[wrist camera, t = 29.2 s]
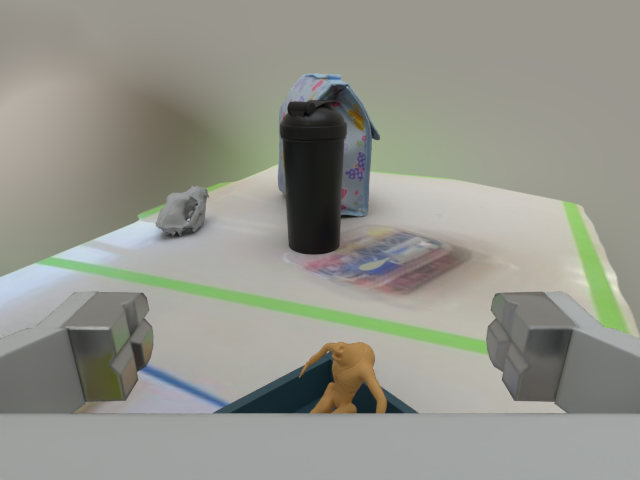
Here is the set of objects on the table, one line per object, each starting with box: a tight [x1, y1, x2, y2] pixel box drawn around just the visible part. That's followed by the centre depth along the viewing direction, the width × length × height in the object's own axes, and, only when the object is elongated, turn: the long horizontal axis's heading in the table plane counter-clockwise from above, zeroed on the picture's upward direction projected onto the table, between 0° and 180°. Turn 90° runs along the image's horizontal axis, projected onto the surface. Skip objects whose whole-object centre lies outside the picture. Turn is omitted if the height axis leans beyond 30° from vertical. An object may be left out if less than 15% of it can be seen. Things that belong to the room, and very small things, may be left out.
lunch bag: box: [278, 73, 380, 217], centre depth 89 cm, size 22×17×26 cm
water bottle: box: [280, 100, 347, 254], centre depth 68 cm, size 10×10×23 cm
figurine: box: [299, 342, 387, 413], centre depth 27 cm, size 8×6×12 cm
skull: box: [156, 186, 209, 236], centre depth 79 cm, size 8×9×12 cm
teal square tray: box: [214, 352, 418, 413], centre depth 29 cm, size 16×16×4 cm
